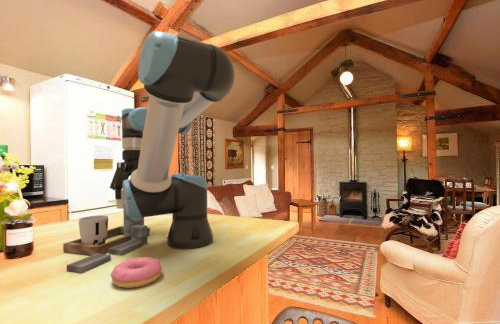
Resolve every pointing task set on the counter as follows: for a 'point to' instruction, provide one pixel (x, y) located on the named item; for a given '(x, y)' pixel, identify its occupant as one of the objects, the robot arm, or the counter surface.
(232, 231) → the counter surface
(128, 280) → the doughnut
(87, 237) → the cup
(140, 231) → the broken strip
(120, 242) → the wooden serving tray
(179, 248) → the robot arm
